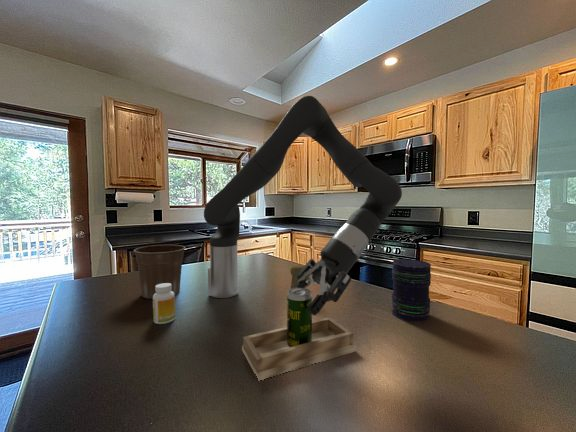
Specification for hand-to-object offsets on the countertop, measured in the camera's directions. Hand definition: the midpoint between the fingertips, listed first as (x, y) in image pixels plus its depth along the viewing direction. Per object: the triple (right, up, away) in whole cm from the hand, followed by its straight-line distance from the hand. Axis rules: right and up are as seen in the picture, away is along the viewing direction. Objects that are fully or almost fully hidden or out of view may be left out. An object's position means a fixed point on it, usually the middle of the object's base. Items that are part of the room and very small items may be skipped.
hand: (300, 305), depth 57 cm
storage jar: (+32, -9, +18) cm, 38 cm away
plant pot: (-47, -8, +36) cm, 60 cm away
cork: (+1, -9, +32) cm, 33 cm away
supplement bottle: (-36, -10, +15) cm, 41 cm away
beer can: (0, -9, 0) cm, 9 cm away
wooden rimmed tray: (0, -10, 0) cm, 10 cm away
